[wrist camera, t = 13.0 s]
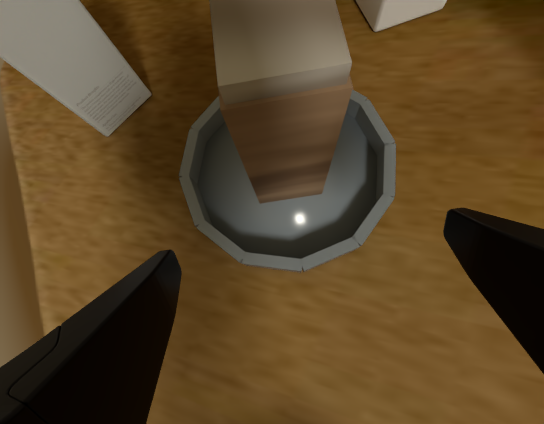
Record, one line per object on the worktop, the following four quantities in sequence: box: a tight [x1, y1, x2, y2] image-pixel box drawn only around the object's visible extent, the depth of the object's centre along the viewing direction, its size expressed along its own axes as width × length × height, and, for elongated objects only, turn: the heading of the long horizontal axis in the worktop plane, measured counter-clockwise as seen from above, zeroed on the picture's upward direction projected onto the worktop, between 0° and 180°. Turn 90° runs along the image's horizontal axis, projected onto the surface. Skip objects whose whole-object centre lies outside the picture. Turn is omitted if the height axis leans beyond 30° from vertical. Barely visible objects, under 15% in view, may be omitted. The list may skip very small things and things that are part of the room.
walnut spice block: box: [209, 0, 353, 204], centre depth 16 cm, size 5×5×13 cm
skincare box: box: [0, 0, 152, 136], centre depth 20 cm, size 6×4×12 cm
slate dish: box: [179, 90, 396, 273], centre depth 22 cm, size 16×16×2 cm
